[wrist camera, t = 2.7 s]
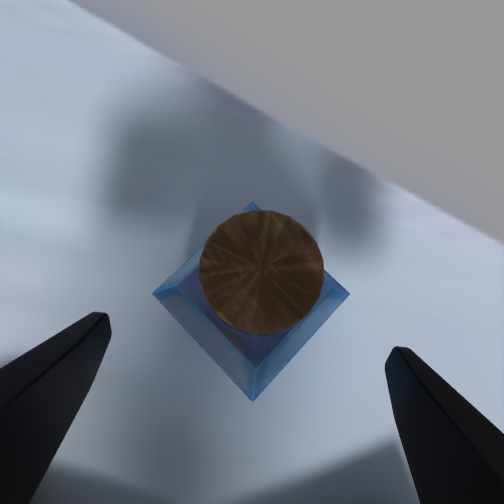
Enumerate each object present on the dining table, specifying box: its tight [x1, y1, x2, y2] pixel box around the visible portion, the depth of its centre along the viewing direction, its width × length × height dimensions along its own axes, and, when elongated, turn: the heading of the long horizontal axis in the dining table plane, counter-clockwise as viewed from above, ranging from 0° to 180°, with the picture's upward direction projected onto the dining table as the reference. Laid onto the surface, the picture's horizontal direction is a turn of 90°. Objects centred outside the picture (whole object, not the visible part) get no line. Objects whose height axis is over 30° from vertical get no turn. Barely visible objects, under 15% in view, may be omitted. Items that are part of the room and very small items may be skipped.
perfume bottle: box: [152, 202, 350, 402], centre depth 13 cm, size 6×6×12 cm
